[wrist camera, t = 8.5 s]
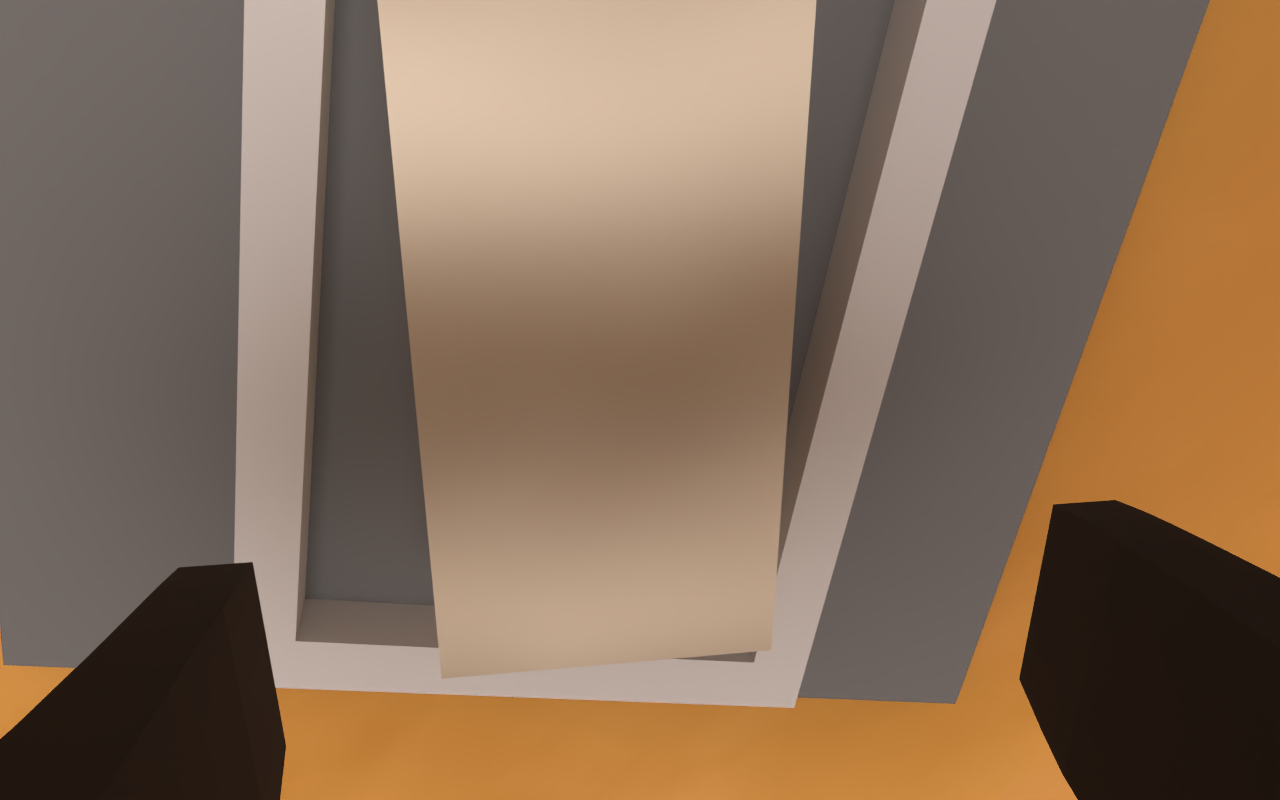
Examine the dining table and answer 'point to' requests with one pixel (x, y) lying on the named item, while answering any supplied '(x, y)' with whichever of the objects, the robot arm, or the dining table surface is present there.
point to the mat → (380, 347)
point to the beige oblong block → (599, 316)
